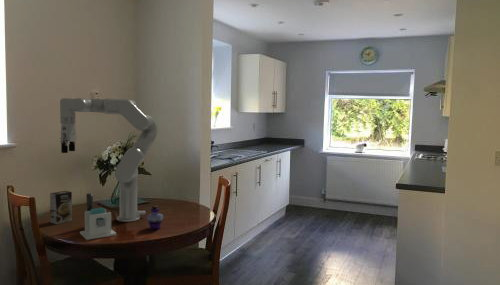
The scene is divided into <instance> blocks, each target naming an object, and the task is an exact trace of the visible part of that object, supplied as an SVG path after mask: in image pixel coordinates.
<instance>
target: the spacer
mask: <svg viewBox="0 0 500 285" xmlns="http://www.w3.org/2000/svg"><path fill="white" fill-rule="evenodd" d="M105 209H106V208H104V207H95V208H93V209H91V215H93V214H101V213H105ZM103 218H104V217H103Z"/></svg>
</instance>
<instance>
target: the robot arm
mask: <svg viewBox="0 0 500 285" xmlns="http://www.w3.org/2000/svg"><path fill="white" fill-rule="evenodd" d="M59 101H60V102H59V110H60V111H59V112H60V113H59V115H60V116H59V118H60V122H59V123H60V124H61V127H60V138H59V139H60V146H61V147H60V148H61V154H67V153H68V152H75V151H76V141H77V128H76V112H77V113H78V112H79V113H100V114H101V113H102V114H105V115H117V116H118V115H120V116H122V117H123V118H124V119H125V120H126V121H128V123H129V124H131V126H132V127H133V128H135V129H136V130H138V131H141V132H140V134H139V135H138V138H137V139H136V141H135V142H134V144H133V146H132V147H130V148H128V149H127V150H126V151H125V152H124V154H123V156H122V158H120V161H119V163H118V166H116V168H115V171H114V177H115V179H116V181H118V182H119V215H118V216H116V221H118V222H123V223H132V222H136V221H139V220H140V219H141V215H146V214H147V212H146V210H138V179H139V166H140V164H141V163H142V162H145V160H146V158H147V156H148V153H149V151H150V150H151V148H152V145H153V144H154V142H155V140H156V138H157V135H158V125H157V122H156V120H155V119H154V117H152V116H151V115H149V114H144V113H143V112H142V111H141V110H140V109H139V108H138V104H137V102H136V101H135V100H133V99H123V98H104V99H102V98H101V99H99V98H98V99H97V98H86V97H76V98H72V97H71V98H70V97H63V98H60V100H59Z"/></svg>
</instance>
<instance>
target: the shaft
mask: <svg viewBox="0 0 500 285" xmlns="http://www.w3.org/2000/svg"><path fill="white" fill-rule="evenodd" d="M93 198H94V196H93V193H91V192H90V193H89V192H88V193H86V211H91V209H94V201H93V200H94V199H93ZM96 225H97V226H104V225H105V222H104V219H103V218H96Z"/></svg>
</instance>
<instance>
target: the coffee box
mask: <svg viewBox="0 0 500 285" xmlns="http://www.w3.org/2000/svg"><path fill="white" fill-rule="evenodd" d="M72 193H73V192H72V191H69V190H67V191H66V190H63V191H62V190H60V191H56V192H50V193H49V220H50V221H49V222H50V224H54V225H59V224H60V225H61V224H63V223H69V222H72V221H73V201H72V200H73V199H72V198H73V197H72V196H73V194H72Z"/></svg>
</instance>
